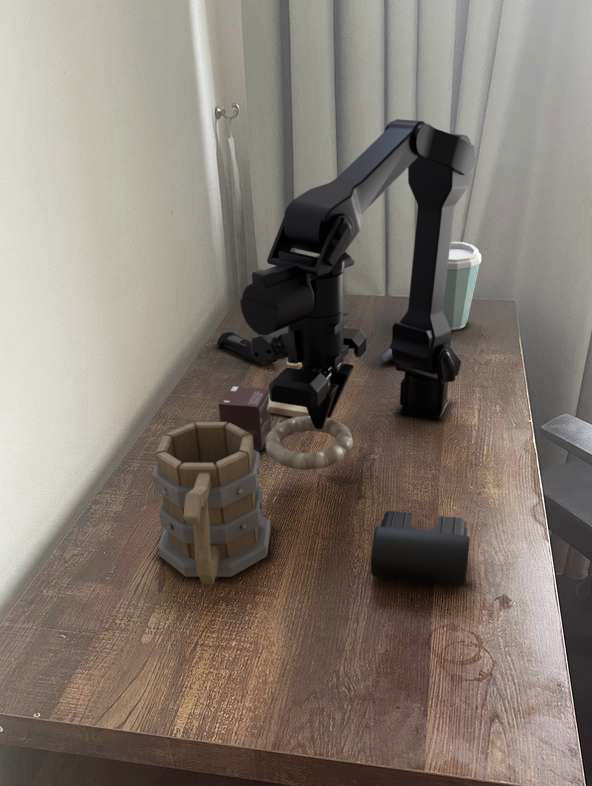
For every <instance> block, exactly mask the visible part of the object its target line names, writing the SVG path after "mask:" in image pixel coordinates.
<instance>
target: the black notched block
mask: <svg viewBox="0 0 592 786" xmlns="http://www.w3.org/2000/svg"><path fill="white" fill-rule="evenodd" d="M412 518H413V512H408V511H396V510H387V511H385V513H384V516H383V519H382V520H381V523H380V526H379V525H377V526H375V529H374V533H373V539H372V547H371V558H370V559H371V560H370V571H371V572H370V573H371V576H373V577H375V578H378V579H385V580H393V581H403V582H411V583H419V584H425V585H426V584H427V585H436V586H445V587H451V588H464V587H465V586H466V581H467V573H468V564H469V563H468V562H469V554H470V553H469V552H470V540H471V539H470V536H469V535H468V528H467V521H466V520H465V519H464V518H463V517H462V518H461V517H457V516H445V515H438V516H437V523H436V525H435V526H434V527H432V528H429V529H423V528H422V529H421V528H418V527H416V526H414V525H413V524H412Z"/></svg>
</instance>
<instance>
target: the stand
mask: <svg viewBox="0 0 592 786" xmlns="http://www.w3.org/2000/svg"><path fill="white" fill-rule="evenodd" d="M301 367H302V363H299V362H298V363H297V364H294V363H288V360H287V361H286V368H293V369H300V368H301ZM268 396H269V394H268ZM269 408H270V414H273V415H274V414H275V415H279V416H286V417H291V418H294V417H302V416H309V413H308V411H307V408H306V407H302V406H296V405H290V404H284V403H278V402H272V401H271V400H270V399H269Z"/></svg>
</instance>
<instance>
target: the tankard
mask: <svg viewBox="0 0 592 786" xmlns="http://www.w3.org/2000/svg"><path fill="white" fill-rule="evenodd" d="M260 457H261V456H260V452H259V451H258V450H254V448H253V436H252V434H250V433H248V432H246V431H244V430H243V429H241V428H239V427H237V426H235V425H233V424H232V423H229V424H228V422H220V421H195V423H194V422H191V423H188V424H186V425H183V426H180V427H178V428H177V429H176V428H175V429H174V430H171V431H168V432H167V433H165V434H163V435H162V437H161V439H160V442H159V444H158V446H157V449H156V451H155V459H156V466H155V468H154V469H153V473H152V479H153V486H154V491H156V492H157V493H158V494H159V495H161V497H162V501H161V504H160V506H159V508H158V515H159V522H160V526H161V527H163V531H162V534H161V537H160V540H159V543H158V546H157V549H158V554H159V557H160V558H162V559H163V560H164V561H165V562H167V563H168V564H169V565H170V566H172V567H173V568H174V569H175V570H176V571H178V572H179V573H181V574H182V575H183V576H184V577H185V578H186V577H187V578H199V579H200V582H201V584H202V585H213V584H214V583H215V579H216V578H232V577H234V576H235V575H237V574H239V573H240V572H242V571H244V570H246V569H247V568H249V567H251V566H253V565H254V564H256V563H258V562H260V561H261V560H263V559H265V558H267V557H268V551H269V544H270V536H271V530H272V529H271V520H270V519H268V518H266V517H264V515H262V511H263V508H264V500H263V488H262V487H260V485H258V484H259V479H260V474H261V473H262V469H261V459H260Z"/></svg>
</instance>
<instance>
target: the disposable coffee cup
mask: <svg viewBox="0 0 592 786" xmlns="http://www.w3.org/2000/svg"><path fill="white" fill-rule="evenodd" d="M481 263H482V253H480V250H479V249H478V248H477V247H476V246H475V245H473V244H470V243H467V242H463V241H450V250H449V259H448V267H447V276H446V284H445V293H444V302H443V313H444V316H445V318H446V320H447V322H448V325H449V327H450V329H451V331H455V330H461V329H462V328H464V327H466V324H467V323H468V320H469V314H470V310H471V304H472V301H473V295H474V291H475V286H476V283H477V282H476V281H477V277H478V274H479V267H480V264H481Z"/></svg>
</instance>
